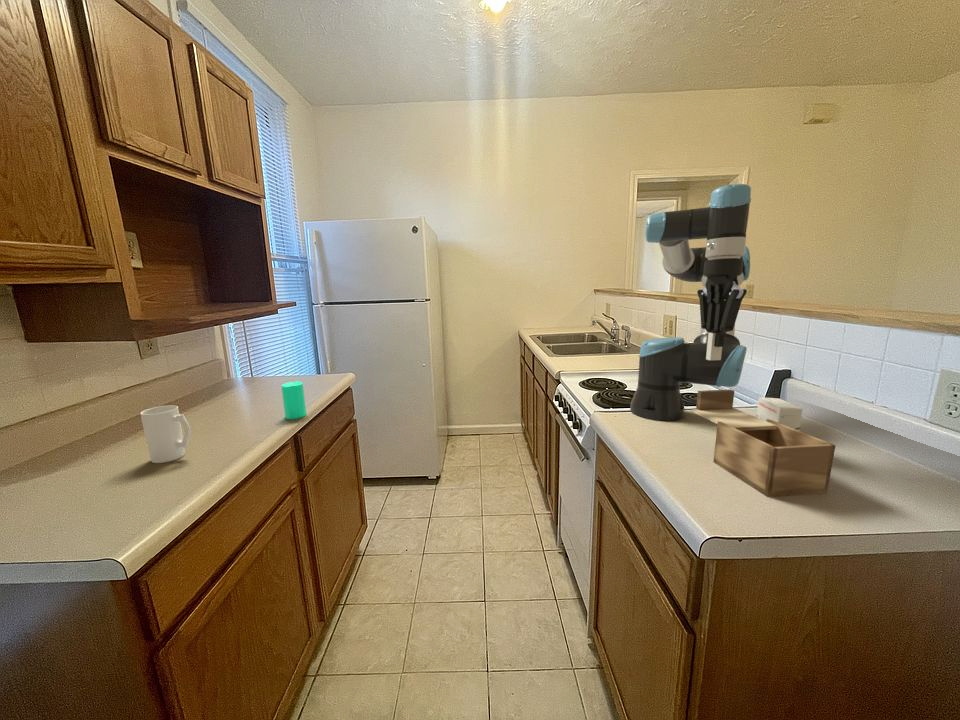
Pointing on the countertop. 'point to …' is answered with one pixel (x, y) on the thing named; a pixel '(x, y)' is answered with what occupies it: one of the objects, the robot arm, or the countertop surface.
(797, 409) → the ink box
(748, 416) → the lid
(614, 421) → the countertop surface
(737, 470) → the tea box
